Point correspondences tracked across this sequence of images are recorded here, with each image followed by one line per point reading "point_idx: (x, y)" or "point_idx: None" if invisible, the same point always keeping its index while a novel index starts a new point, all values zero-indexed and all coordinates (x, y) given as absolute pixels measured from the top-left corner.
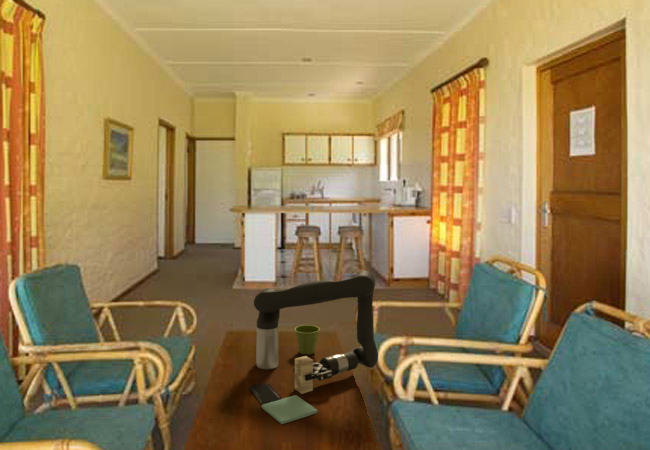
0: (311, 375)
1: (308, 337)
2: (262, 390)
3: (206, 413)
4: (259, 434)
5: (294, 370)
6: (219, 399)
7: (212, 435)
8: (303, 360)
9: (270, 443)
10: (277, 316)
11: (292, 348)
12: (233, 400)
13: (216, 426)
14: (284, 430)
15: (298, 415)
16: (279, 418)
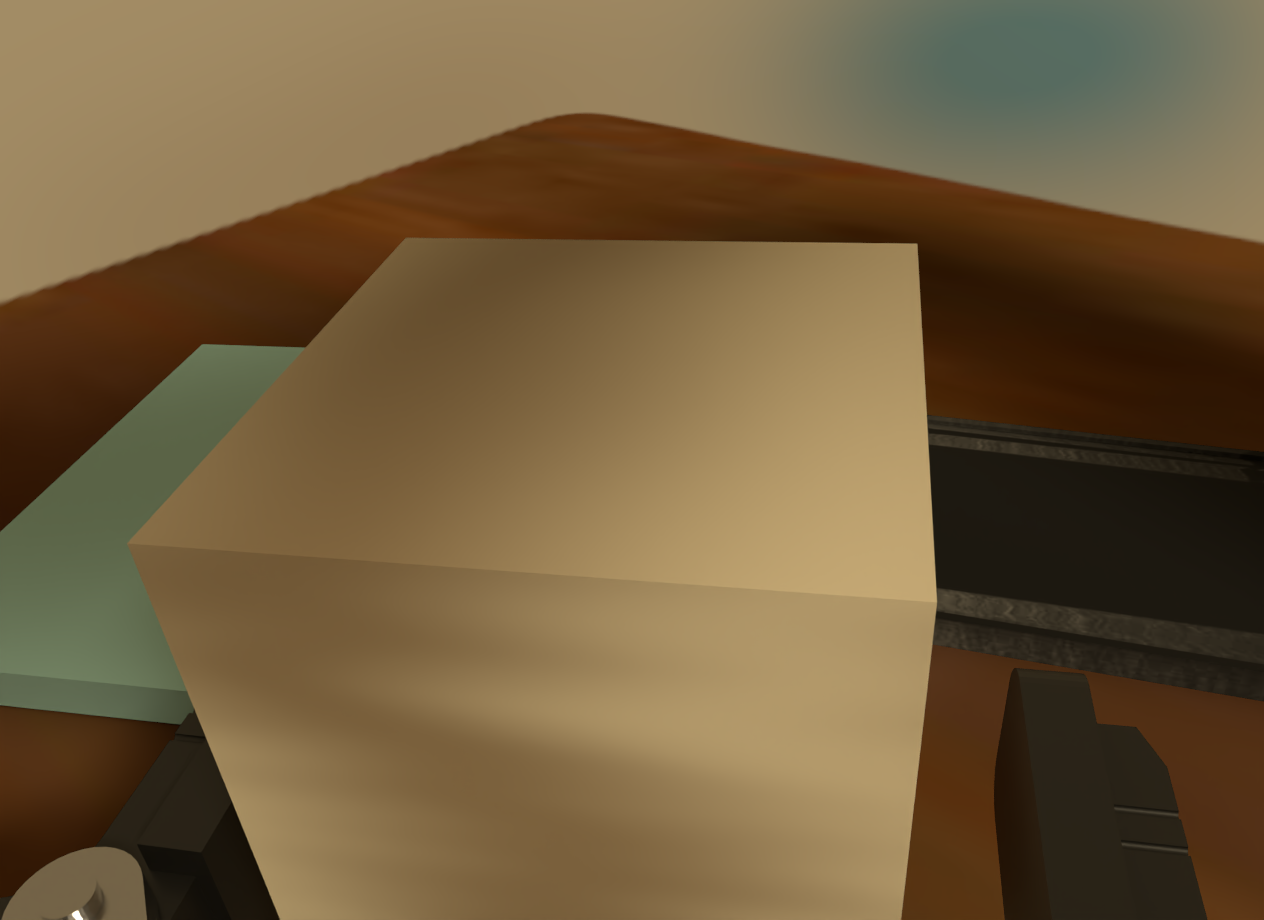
0: (190, 750)
1: None
2: (1075, 521)
3: (885, 182)
4: (293, 259)
5: (1005, 717)
6: (1108, 262)
7: (563, 153)
8: (501, 317)
9: (138, 261)
10: None
11: None
12: (1008, 310)
13: (645, 177)
14: (128, 352)
15: (87, 463)
16: (259, 351)
